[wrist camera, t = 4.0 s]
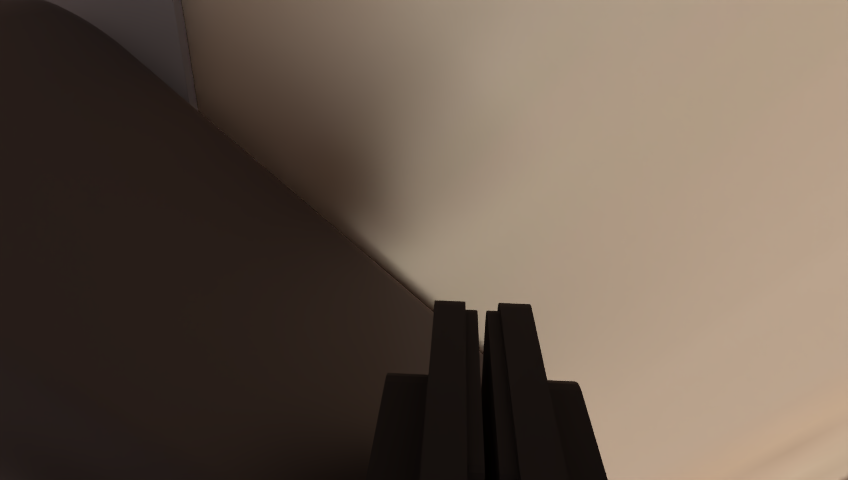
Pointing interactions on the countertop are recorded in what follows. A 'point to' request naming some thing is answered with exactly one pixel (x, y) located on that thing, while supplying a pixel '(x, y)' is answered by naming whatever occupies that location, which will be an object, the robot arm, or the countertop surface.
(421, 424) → the robot arm
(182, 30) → the mat
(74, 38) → the leaning round-cornered charcoal block
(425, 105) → the countertop surface
